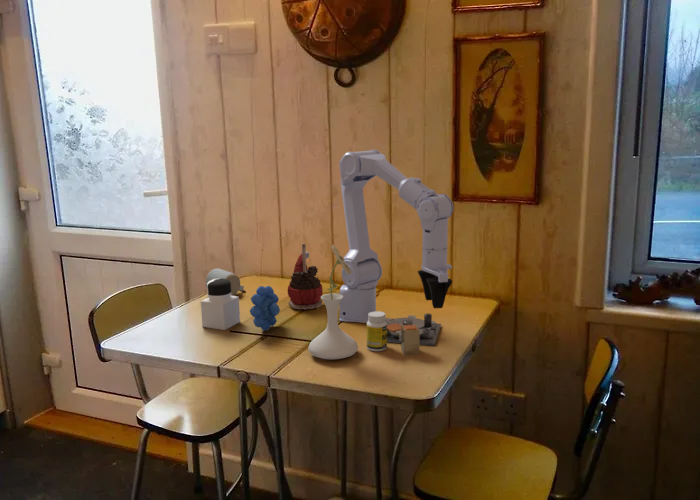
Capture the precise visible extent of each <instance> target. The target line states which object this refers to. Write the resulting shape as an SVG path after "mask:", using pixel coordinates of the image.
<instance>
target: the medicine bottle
mask: <svg viewBox="0 0 700 500" xmlns="http://www.w3.org/2000/svg"><path fill="white" fill-rule="evenodd" d="M206 290H207V298H205V299H202V300H200V309H201V312H200V313H201V324H202V325H201V326H202V327H203V328H208V329H214V330H219V331H226V330H228V329H230V328H231V327H234V326H235V325H237V324H239V323H240V322H241V316H240V315H241V314H240V297H239V296H236V295H234V296H231V282H230V281H229V280H227V279H213V280H211V281H209V282H208V283H207V287H206Z"/></svg>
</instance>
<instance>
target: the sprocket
mask: <svg viewBox="0 0 700 500" xmlns="http://www.w3.org/2000/svg"><path fill="white" fill-rule="evenodd" d="M423 315H424V316H423V318H424V319H421V318H418V317H417V318H416V315H411V314H410V315H407V317H395V318H390V317H386V319H385V321H386V322H387V334H388V335H391V336H393V337H398V338H399V341H401V325H417V327H418V328H419V330H420V337H426V338H431V337H433V336H434V331H433V330H430V329H435V328H436V323H437V322H436V321H435V320H433V315H432V314H431V313H424V314H423Z"/></svg>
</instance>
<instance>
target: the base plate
mask: <svg viewBox="0 0 700 500" xmlns="http://www.w3.org/2000/svg"><path fill="white" fill-rule="evenodd" d="M441 327H442V323H437V322H436V328H435V329H430V330H433V331H434V336H433V337H431V338H426V337H420V340H419V346H430V347H431V346H432V347H435V346H436V343H437V339H438V336H439V332H440V331H441ZM388 343H390V344H391V343H392V344H401V341H399V338H398V337H393V336H391V335H388V334H387V344H388Z"/></svg>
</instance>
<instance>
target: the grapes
mask: <svg viewBox="0 0 700 500" xmlns="http://www.w3.org/2000/svg"><path fill="white" fill-rule="evenodd" d="M255 292H256V293H255V294H253V295H252V296H251V298H250V301H251V303H252V304H253V306H252V307H251V308H250V309H249V312H250V316H252V317H253V324H254V326H255V327H256V328H261V330H262V331H265V330H266V331H268V330H270V328H271V327H273V326H275V325H276V323H277V322H278V320H277V318H276V316H278V315H279V314H280V312H281V308H280V306H279V305H278V302H279V296H278V295H277V294H276V293H275V291H274V288H272V286H269V285H267V286H263V285H261V286H259V287H258V288H256V291H255Z"/></svg>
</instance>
